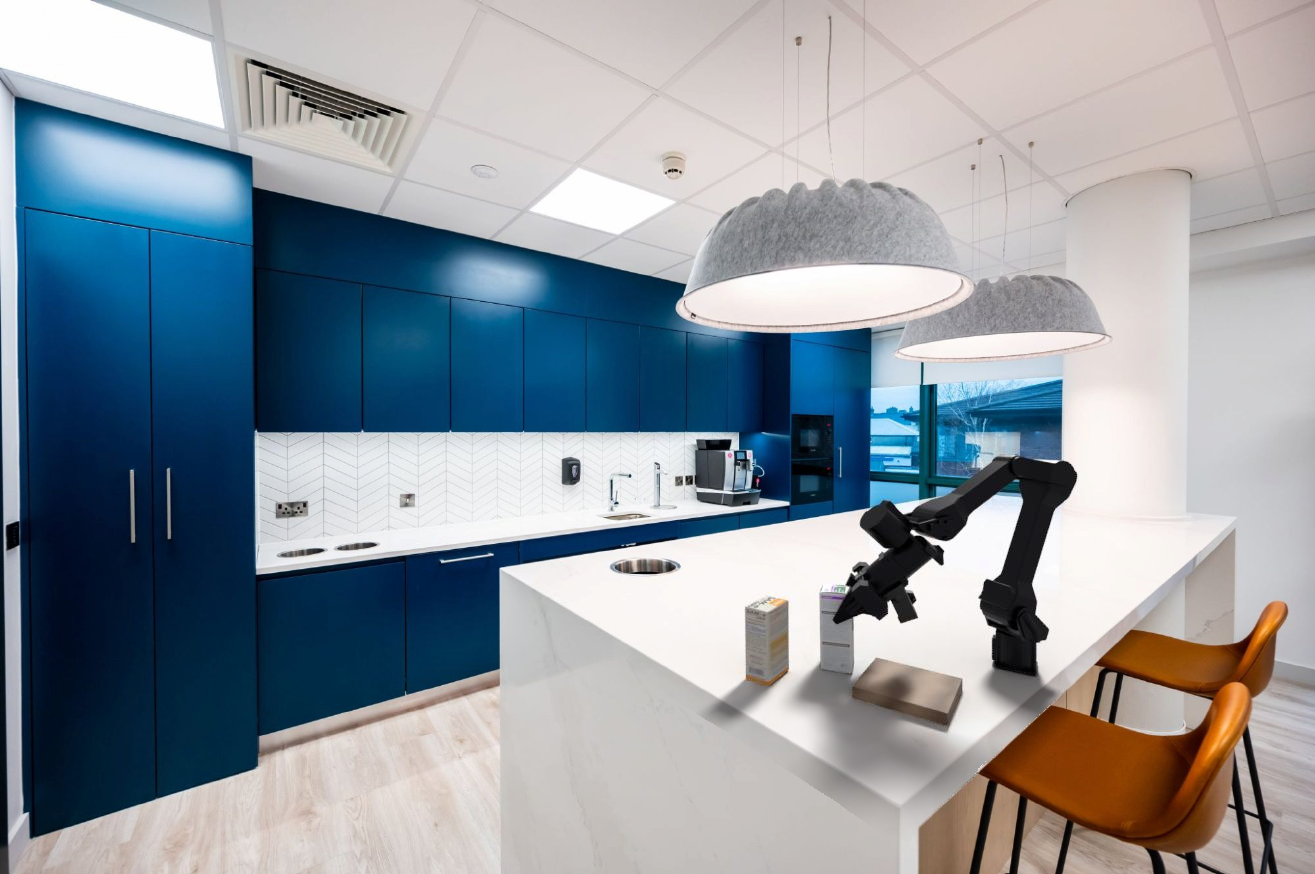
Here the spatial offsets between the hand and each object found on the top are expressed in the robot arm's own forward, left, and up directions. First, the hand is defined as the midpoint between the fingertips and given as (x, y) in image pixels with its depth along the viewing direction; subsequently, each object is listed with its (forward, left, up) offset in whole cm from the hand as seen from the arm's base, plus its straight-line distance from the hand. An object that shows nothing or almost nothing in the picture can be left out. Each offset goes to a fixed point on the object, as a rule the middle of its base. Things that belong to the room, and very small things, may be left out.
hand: (834, 616), depth 101 cm
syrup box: (0, 0, -9) cm, 9 cm away
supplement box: (+9, +11, -9) cm, 17 cm away
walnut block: (-13, +4, -10) cm, 17 cm away
